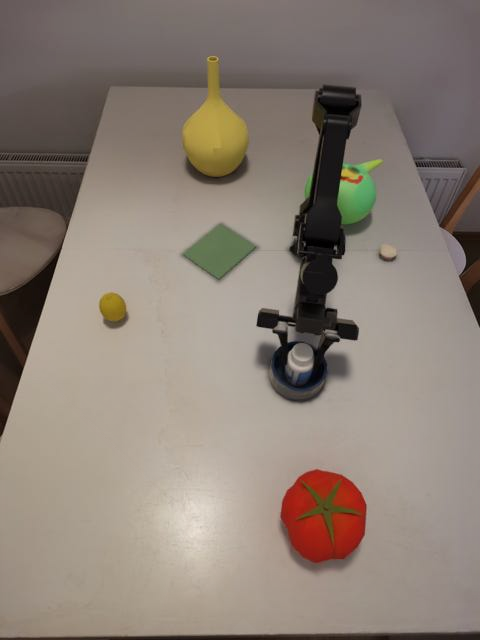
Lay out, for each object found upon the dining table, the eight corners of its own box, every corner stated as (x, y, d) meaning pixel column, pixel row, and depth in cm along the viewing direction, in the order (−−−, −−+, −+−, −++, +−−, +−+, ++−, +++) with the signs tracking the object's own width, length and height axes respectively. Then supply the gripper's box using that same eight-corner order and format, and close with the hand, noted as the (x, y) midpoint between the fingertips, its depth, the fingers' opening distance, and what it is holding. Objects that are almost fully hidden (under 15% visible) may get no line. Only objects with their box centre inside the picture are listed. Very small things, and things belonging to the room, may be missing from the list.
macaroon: (381, 262, 107) (384, 256, 105) (374, 248, 109) (377, 241, 107) (397, 260, 107) (401, 253, 105) (389, 245, 110) (393, 238, 108)
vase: (259, 160, 128) (266, 54, 103) (225, 195, 119) (223, 88, 94) (208, 139, 133) (203, 33, 108) (172, 171, 124) (157, 64, 99)
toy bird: (293, 223, 114) (301, 177, 101) (312, 184, 122) (321, 138, 110) (360, 243, 110) (376, 198, 98) (374, 202, 119) (391, 155, 107)
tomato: (357, 487, 78) (376, 470, 68) (350, 576, 70) (370, 572, 60) (285, 469, 79) (292, 451, 69) (270, 555, 71) (276, 548, 62)
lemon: (124, 329, 95) (116, 309, 88) (100, 325, 95) (90, 304, 89) (132, 309, 98) (125, 288, 91) (109, 305, 98) (100, 283, 92)
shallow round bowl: (291, 342, 94) (293, 331, 90) (333, 373, 90) (338, 363, 86) (258, 377, 89) (259, 367, 85) (302, 411, 85) (305, 402, 81)
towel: (220, 224, 113) (220, 223, 113) (255, 247, 109) (256, 246, 108) (183, 255, 107) (182, 253, 107) (218, 280, 103) (218, 278, 102)
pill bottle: (312, 367, 90) (320, 344, 82) (306, 390, 87) (314, 368, 79) (287, 359, 91) (293, 336, 83) (280, 381, 88) (285, 359, 80)
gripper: (260, 285, 73) (249, 373, 76) (371, 300, 71) (355, 388, 75) (263, 278, 84) (253, 355, 87) (360, 291, 82) (345, 368, 86)
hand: (299, 366), depth 83 cm, fingers closed on pill bottle, 5 cm apart
